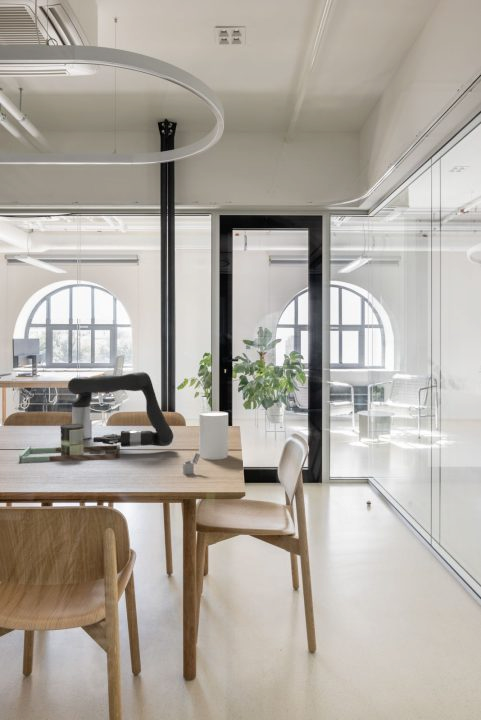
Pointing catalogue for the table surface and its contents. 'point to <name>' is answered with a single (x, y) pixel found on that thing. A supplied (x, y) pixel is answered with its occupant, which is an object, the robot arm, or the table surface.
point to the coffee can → (72, 439)
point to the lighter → (190, 465)
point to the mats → (105, 452)
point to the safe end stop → (35, 458)
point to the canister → (213, 435)
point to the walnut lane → (89, 456)
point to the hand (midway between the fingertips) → (93, 439)
